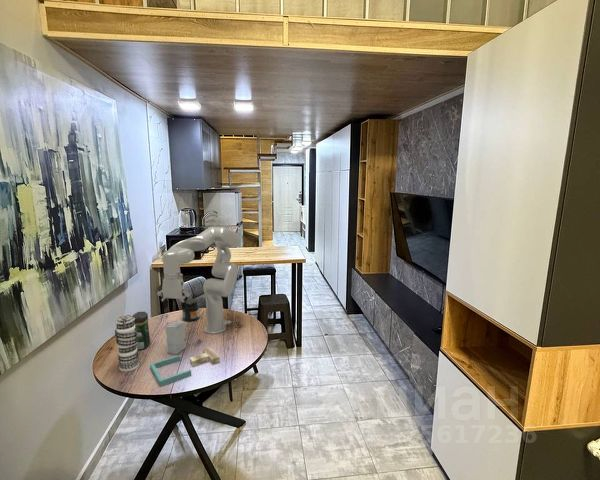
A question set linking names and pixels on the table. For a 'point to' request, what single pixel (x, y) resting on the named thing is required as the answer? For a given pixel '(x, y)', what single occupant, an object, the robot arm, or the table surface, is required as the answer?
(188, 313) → the supplement container
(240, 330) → the table surface
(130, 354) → the decorative candle
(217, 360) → the tee block
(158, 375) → the dock
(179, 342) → the skincare box
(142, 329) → the coffee jar
